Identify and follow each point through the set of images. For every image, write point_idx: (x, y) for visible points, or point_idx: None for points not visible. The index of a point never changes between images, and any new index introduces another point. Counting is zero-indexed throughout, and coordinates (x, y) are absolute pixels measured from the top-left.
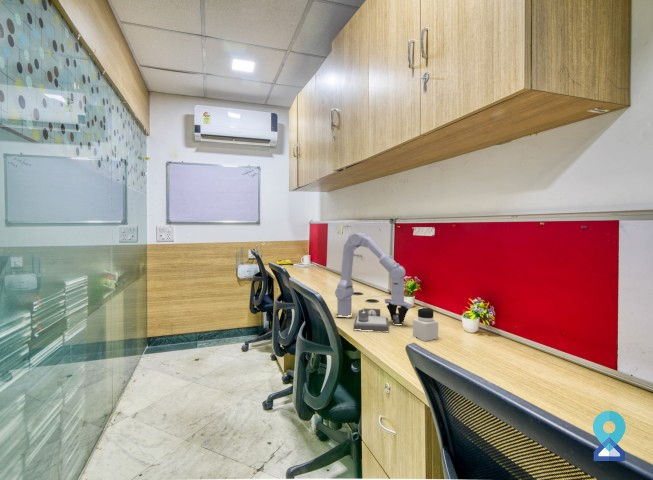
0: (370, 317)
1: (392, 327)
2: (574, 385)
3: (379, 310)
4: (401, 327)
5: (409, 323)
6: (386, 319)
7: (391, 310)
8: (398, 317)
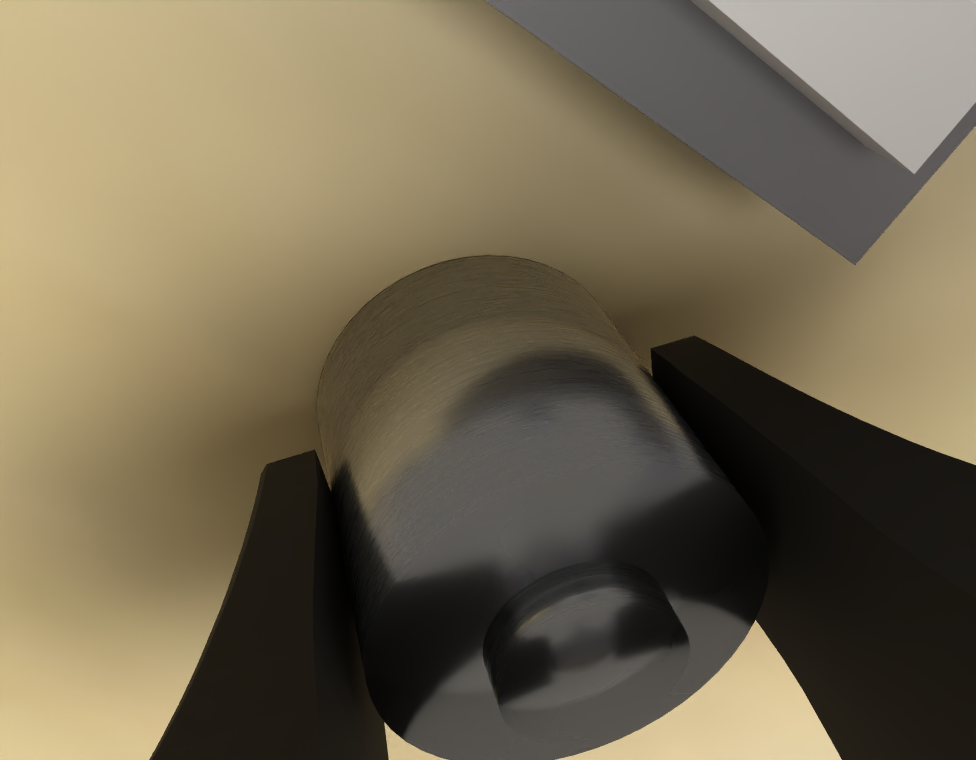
0: None
1: (170, 13)
2: None
3: None
4: (77, 340)
5: None
6: (676, 45)
7: (903, 588)
8: (370, 550)
